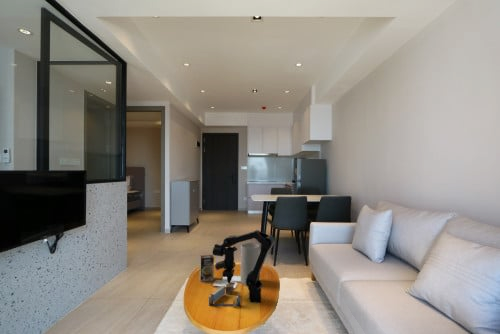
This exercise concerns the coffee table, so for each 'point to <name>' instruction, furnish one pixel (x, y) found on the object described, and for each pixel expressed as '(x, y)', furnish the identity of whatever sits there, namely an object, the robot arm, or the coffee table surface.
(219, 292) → the grey block
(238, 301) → the dark grey long piece
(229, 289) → the walnut block
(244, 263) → the cylinder vase
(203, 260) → the coffee box
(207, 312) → the coffee table surface
